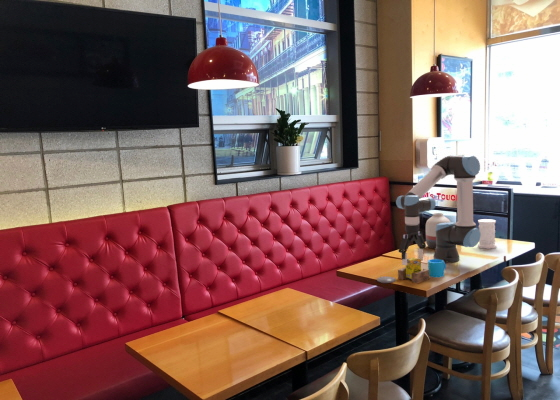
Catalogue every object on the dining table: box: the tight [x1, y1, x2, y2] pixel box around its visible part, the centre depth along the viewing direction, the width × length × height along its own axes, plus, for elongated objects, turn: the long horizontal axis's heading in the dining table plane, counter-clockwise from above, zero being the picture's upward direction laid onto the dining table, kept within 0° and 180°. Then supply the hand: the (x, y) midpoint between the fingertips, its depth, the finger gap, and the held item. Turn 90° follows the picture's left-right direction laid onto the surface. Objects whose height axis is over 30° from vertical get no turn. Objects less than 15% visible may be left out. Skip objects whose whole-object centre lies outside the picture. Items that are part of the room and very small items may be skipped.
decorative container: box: [477, 218, 498, 250], centre depth 300 cm, size 12×12×18 cm
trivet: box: [376, 276, 397, 284], centre depth 242 cm, size 10×10×1 cm
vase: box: [425, 212, 451, 250], centre depth 306 cm, size 17×17×24 cm
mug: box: [427, 258, 447, 278], centre depth 246 cm, size 12×8×8 cm
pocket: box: [397, 266, 431, 284], centre depth 242 cm, size 11×12×5 cm
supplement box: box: [405, 257, 422, 281], centre depth 241 cm, size 6×6×11 cm
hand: (412, 262), depth 241 cm, fingers open, 13 cm apart
